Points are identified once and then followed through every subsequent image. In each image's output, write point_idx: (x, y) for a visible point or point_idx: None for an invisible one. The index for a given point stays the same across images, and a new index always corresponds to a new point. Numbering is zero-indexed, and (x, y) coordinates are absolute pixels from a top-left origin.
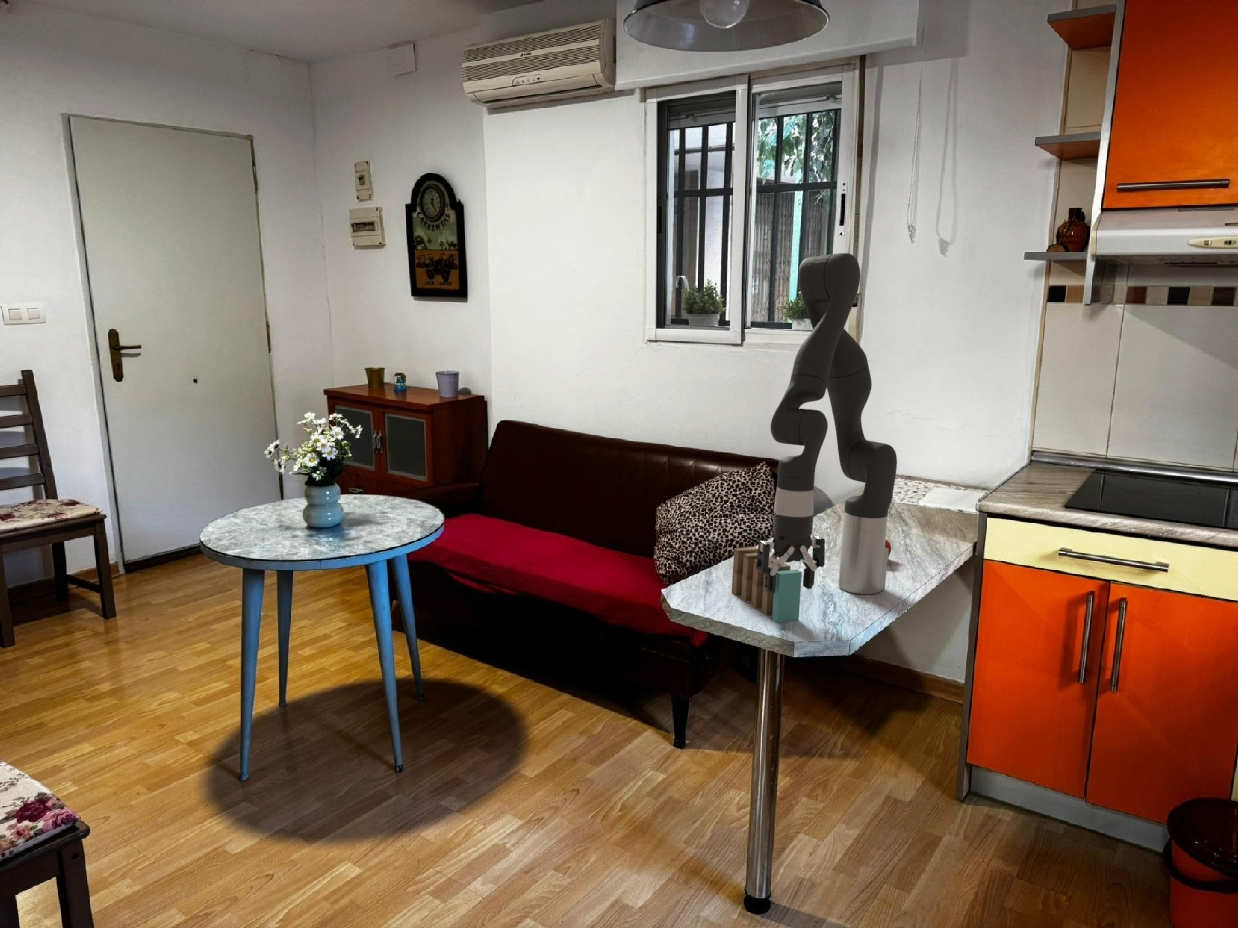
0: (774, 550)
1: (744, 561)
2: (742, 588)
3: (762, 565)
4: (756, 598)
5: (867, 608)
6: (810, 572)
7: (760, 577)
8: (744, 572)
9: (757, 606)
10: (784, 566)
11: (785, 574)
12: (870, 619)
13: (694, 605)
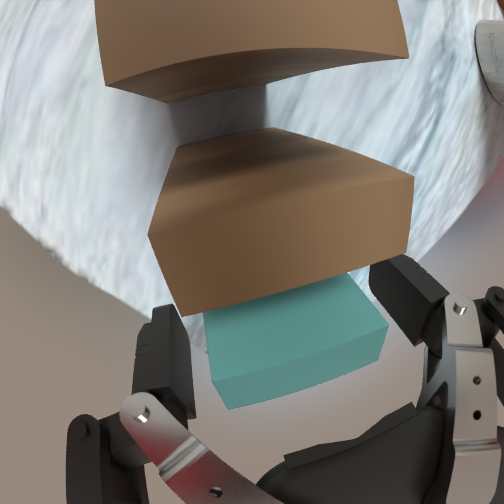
0: None
1: None
2: None
3: (112, 483)
4: (165, 100)
5: (468, 170)
6: (413, 343)
7: (172, 87)
8: None
9: (175, 100)
10: (356, 268)
11: (266, 395)
12: (439, 233)
13: None
